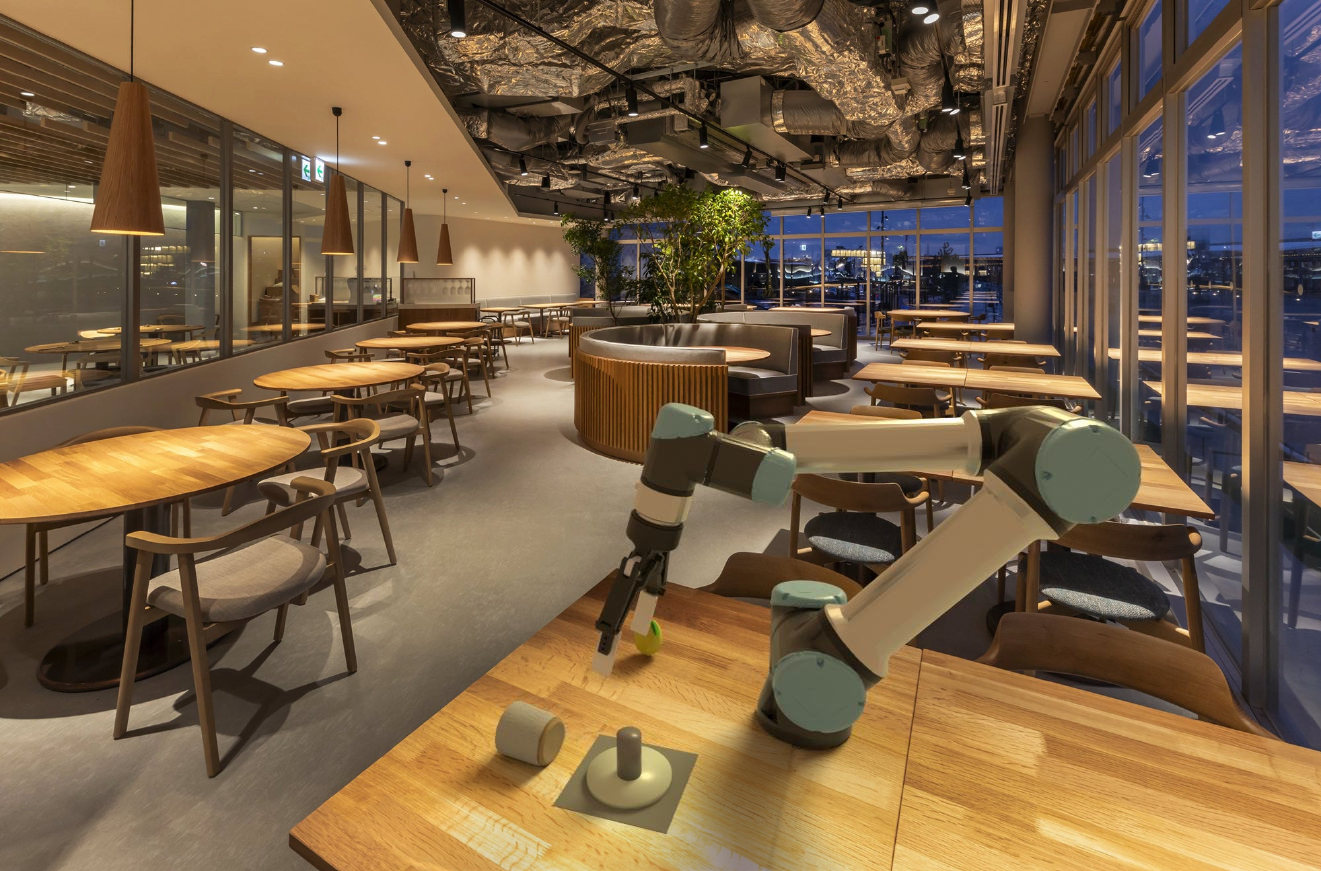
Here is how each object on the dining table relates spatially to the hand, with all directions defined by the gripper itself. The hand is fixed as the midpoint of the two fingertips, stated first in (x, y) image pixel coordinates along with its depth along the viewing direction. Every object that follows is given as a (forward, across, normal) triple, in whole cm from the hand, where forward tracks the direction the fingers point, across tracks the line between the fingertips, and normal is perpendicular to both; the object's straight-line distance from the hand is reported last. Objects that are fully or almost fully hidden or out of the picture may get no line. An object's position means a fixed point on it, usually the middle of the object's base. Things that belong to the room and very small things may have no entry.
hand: (620, 650), depth 96 cm
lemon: (+17, -30, -3) cm, 35 cm away
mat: (+16, +3, +7) cm, 18 cm away
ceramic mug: (+21, +2, -8) cm, 22 cm away
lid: (+16, +3, +7) cm, 18 cm away
